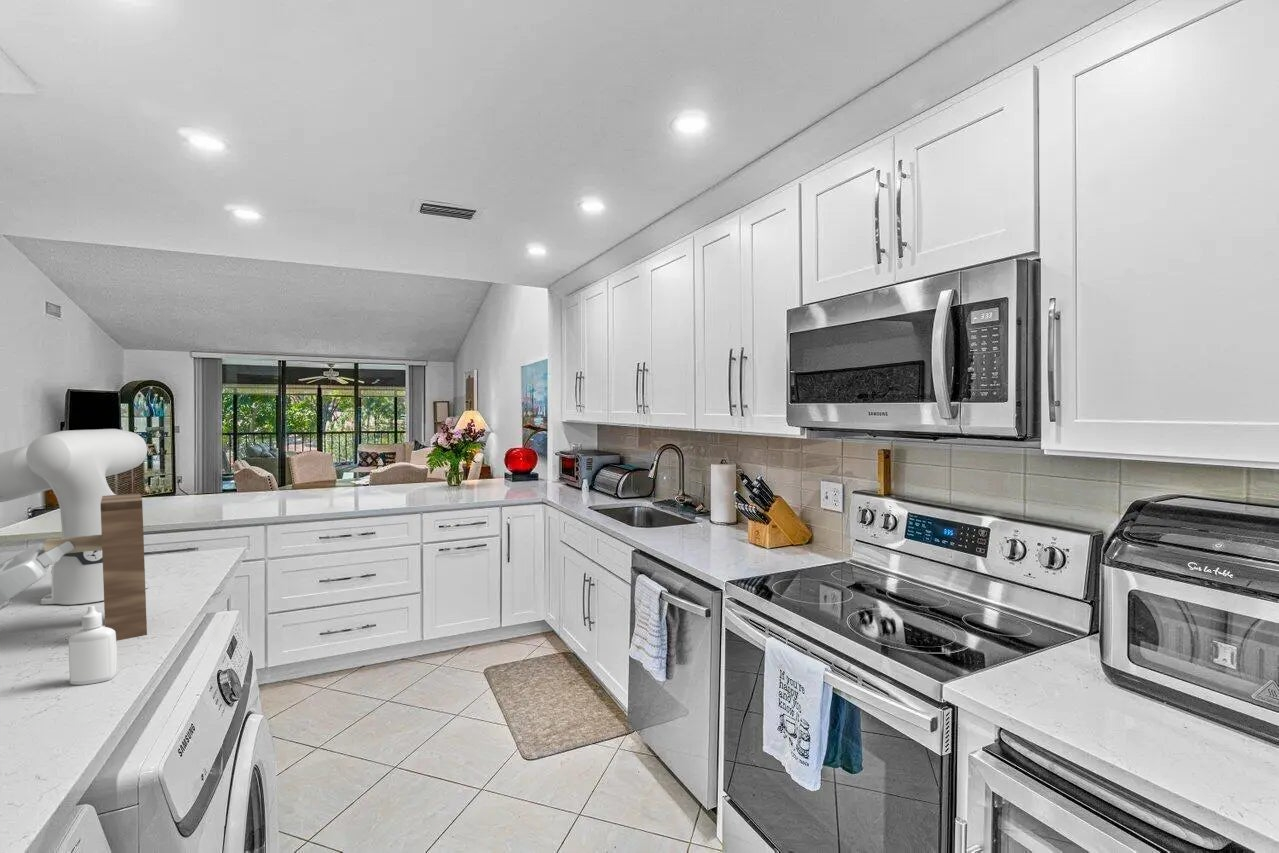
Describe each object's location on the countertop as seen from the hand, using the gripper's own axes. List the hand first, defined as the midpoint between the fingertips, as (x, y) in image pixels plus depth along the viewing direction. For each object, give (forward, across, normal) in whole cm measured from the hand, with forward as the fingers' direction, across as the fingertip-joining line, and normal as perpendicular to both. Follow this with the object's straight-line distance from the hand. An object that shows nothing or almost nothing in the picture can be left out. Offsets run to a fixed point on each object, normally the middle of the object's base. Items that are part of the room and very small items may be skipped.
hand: (73, 541), depth 116 cm
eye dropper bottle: (-7, +27, -18) cm, 33 cm away
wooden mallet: (+2, 0, -3) cm, 4 cm away
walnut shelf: (-3, 0, -20) cm, 20 cm away
